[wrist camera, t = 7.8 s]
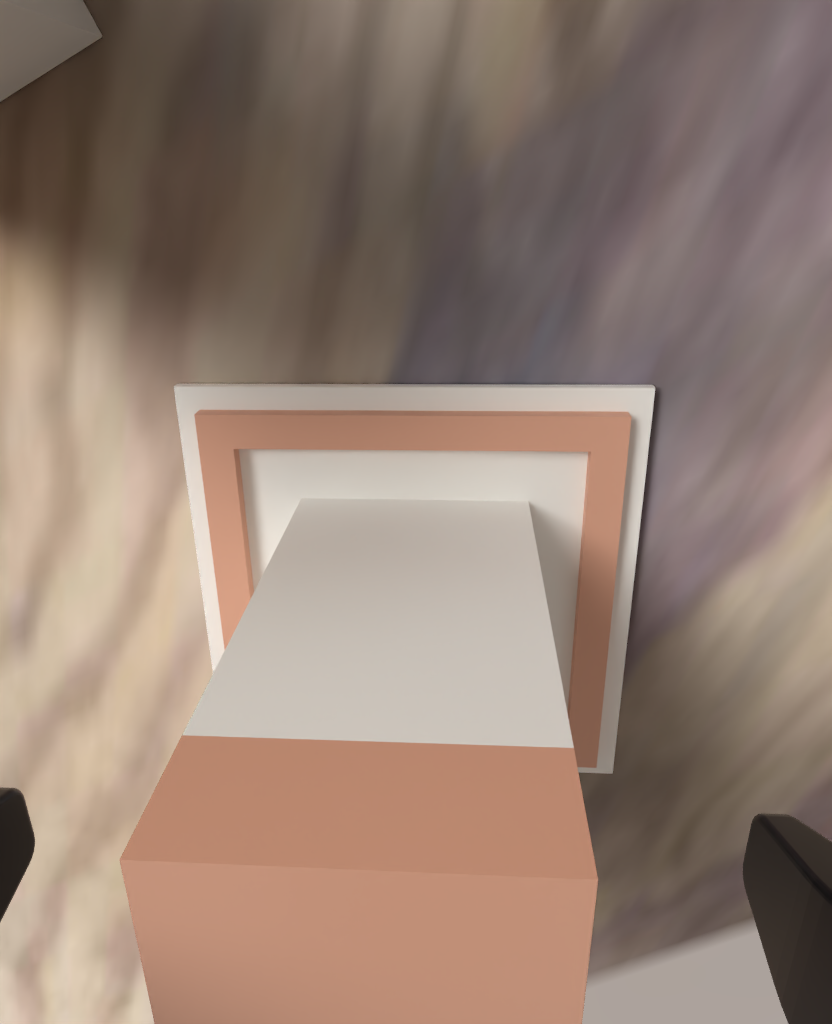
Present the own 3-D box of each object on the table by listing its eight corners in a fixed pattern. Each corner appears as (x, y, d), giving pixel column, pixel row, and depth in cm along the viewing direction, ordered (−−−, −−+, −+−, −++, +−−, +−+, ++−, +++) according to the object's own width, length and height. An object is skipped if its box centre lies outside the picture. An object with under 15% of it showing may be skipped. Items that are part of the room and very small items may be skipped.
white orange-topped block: (528, 501, 14) (598, 879, 6) (518, 690, 15) (566, 1166, 8) (301, 497, 14) (119, 859, 7) (315, 684, 16) (180, 1143, 8)
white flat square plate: (652, 384, 13) (659, 392, 13) (611, 766, 16) (615, 783, 16) (177, 383, 13) (167, 391, 13) (227, 754, 17) (221, 771, 16)
